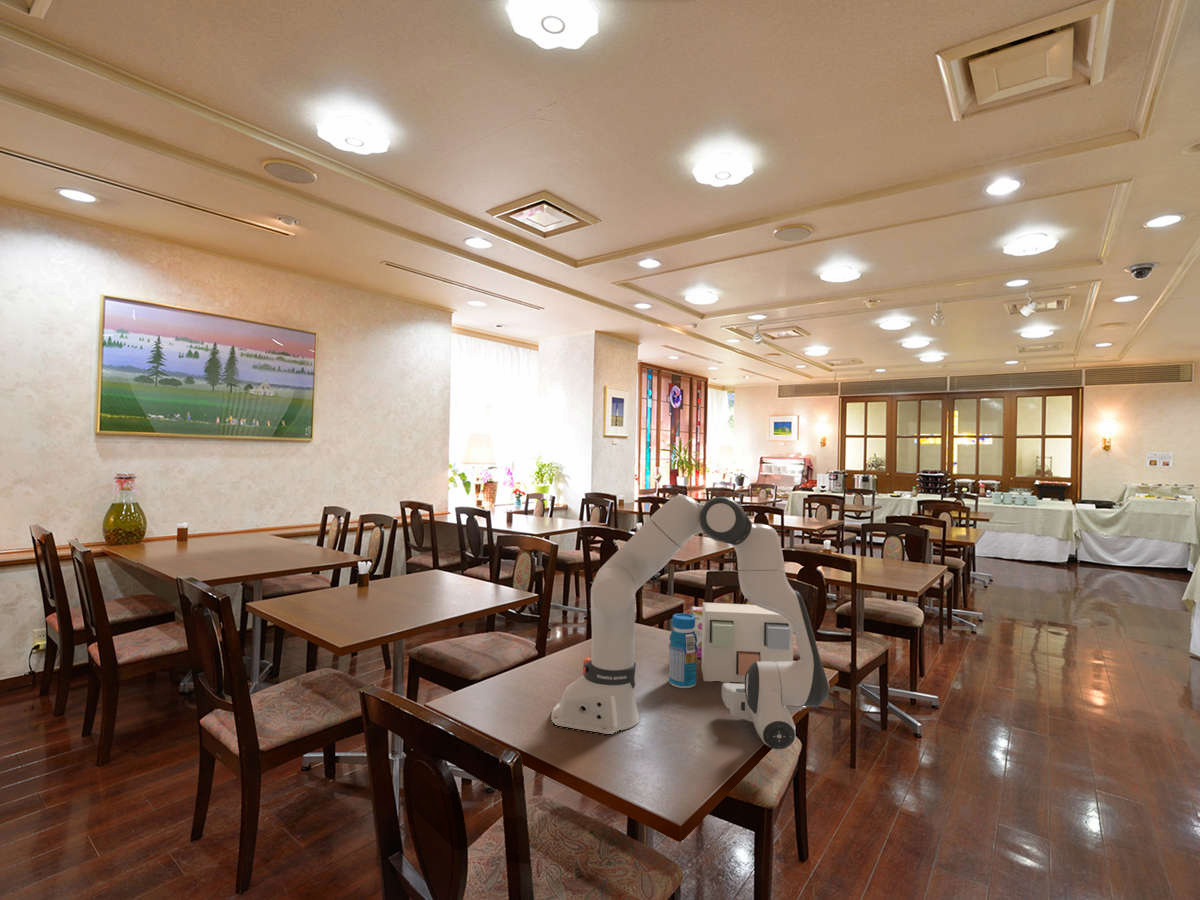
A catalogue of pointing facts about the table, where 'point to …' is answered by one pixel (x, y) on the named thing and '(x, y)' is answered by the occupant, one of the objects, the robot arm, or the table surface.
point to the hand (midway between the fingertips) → (757, 684)
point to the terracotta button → (745, 661)
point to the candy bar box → (698, 628)
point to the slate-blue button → (777, 636)
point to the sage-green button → (722, 633)
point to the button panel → (739, 639)
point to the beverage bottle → (683, 652)
